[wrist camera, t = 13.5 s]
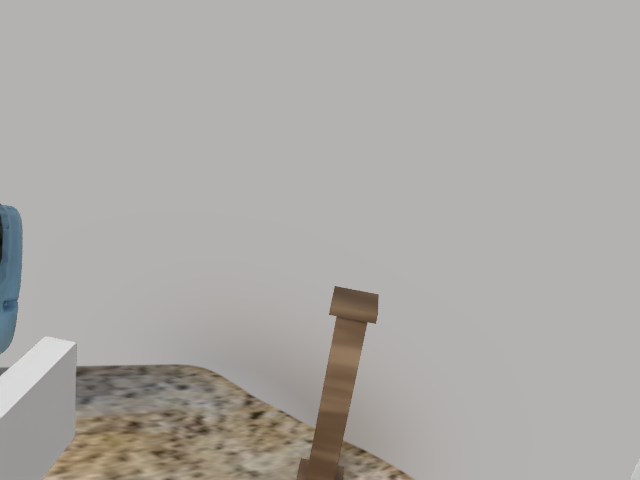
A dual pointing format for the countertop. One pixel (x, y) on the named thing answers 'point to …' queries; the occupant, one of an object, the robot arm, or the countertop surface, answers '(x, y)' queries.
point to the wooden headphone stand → (339, 381)
